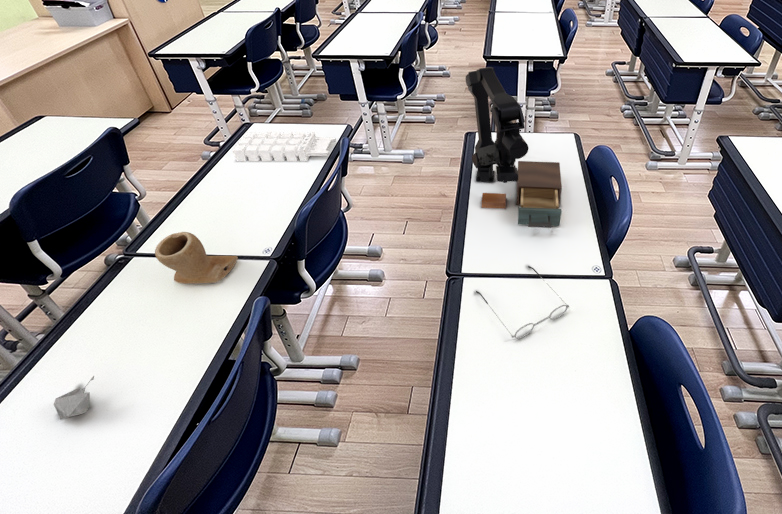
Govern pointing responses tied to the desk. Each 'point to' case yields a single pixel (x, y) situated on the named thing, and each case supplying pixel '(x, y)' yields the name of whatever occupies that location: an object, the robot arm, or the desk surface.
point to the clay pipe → (192, 259)
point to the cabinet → (538, 177)
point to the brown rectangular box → (493, 200)
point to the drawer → (539, 208)
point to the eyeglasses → (532, 323)
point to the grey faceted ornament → (72, 403)
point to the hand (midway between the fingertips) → (504, 181)
